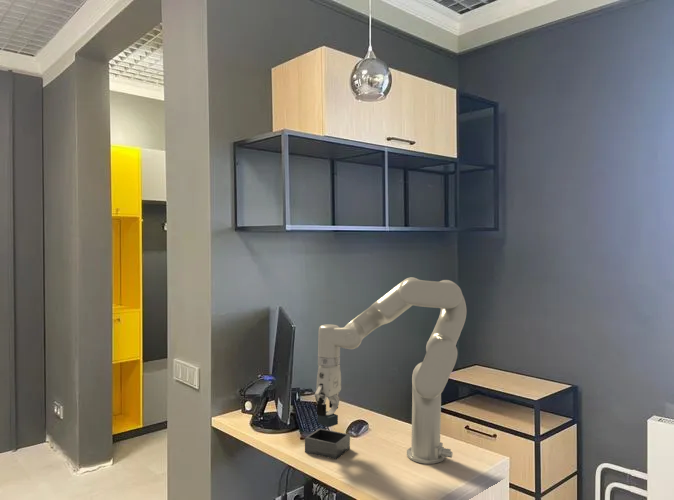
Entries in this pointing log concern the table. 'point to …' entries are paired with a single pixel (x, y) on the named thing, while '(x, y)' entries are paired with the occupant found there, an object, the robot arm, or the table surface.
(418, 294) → the robot arm
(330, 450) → the open box
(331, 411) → the watch
